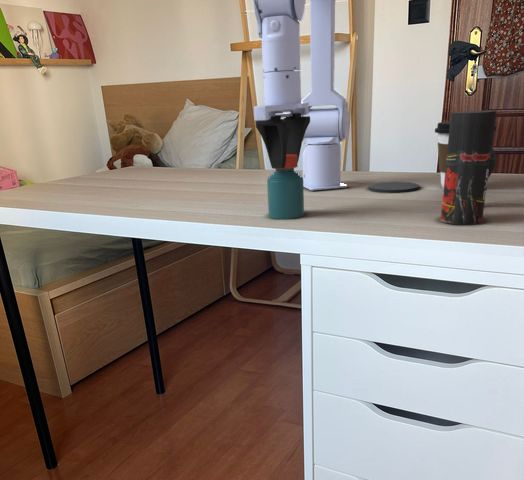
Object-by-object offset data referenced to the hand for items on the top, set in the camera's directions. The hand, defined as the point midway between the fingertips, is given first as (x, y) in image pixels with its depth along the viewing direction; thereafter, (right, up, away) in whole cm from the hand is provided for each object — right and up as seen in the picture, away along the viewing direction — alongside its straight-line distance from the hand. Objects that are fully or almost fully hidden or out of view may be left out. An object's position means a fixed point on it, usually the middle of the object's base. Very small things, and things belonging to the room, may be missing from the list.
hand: (284, 166), depth 86 cm
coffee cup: (+35, +2, +18) cm, 40 cm away
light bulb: (+31, -6, +2) cm, 32 cm away
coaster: (+23, +3, +22) cm, 32 cm away
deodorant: (+26, -11, -6) cm, 29 cm away
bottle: (0, -7, +4) cm, 8 cm away
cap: (0, +1, -1) cm, 1 cm away
